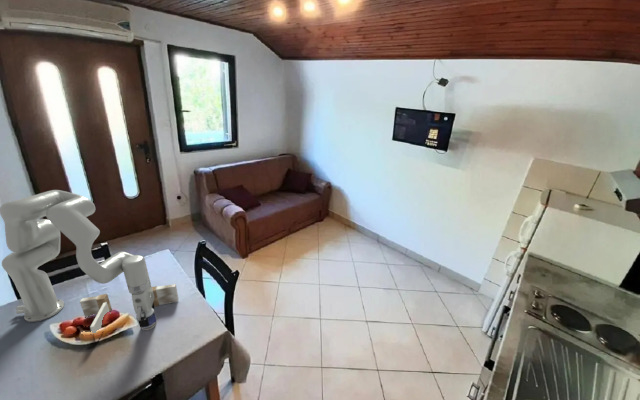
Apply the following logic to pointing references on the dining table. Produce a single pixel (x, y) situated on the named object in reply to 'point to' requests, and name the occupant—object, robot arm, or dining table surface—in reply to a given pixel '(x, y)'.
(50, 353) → the dining table surface
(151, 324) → the pill bottle
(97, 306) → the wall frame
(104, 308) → the white rectangular slab
